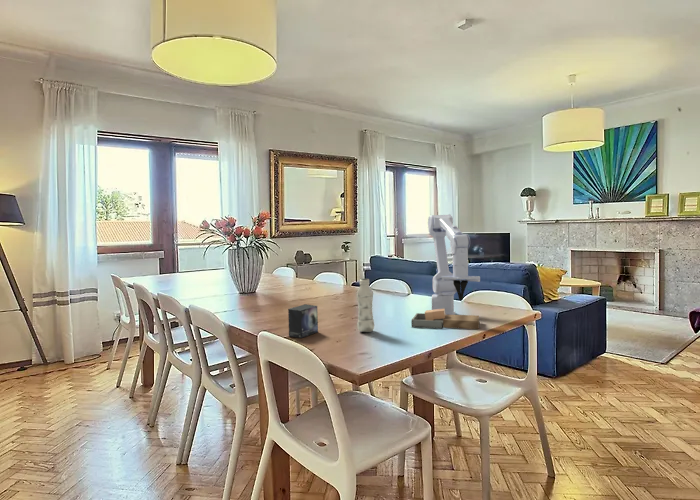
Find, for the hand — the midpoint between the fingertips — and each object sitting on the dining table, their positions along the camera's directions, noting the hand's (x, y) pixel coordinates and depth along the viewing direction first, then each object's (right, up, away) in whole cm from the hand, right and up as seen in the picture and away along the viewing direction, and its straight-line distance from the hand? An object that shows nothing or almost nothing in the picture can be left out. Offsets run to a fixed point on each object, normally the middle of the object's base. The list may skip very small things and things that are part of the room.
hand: (460, 299), depth 171 cm
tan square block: (-10, -7, +2) cm, 13 cm away
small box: (-61, -13, -8) cm, 63 cm away
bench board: (0, -10, -1) cm, 10 cm away
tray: (-12, -10, +3) cm, 16 cm away
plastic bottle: (-38, -12, -7) cm, 40 cm away
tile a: (-8, -7, +1) cm, 11 cm away
